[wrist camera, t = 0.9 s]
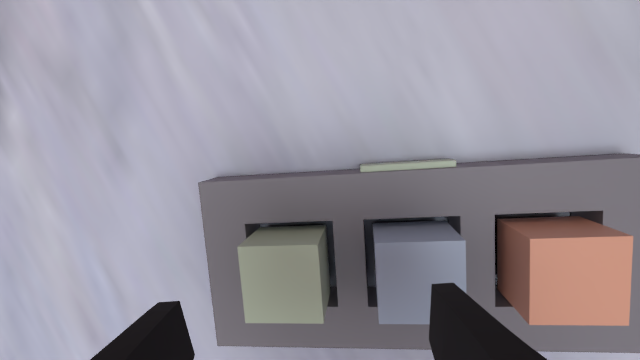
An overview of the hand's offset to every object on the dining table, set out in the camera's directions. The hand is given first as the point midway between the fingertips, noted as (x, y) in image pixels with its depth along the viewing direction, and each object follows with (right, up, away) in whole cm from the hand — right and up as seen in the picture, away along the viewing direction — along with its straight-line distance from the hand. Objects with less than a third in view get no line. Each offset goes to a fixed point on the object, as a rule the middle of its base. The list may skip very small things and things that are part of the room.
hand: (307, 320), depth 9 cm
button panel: (+7, -1, +15) cm, 16 cm away
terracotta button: (+14, -1, +12) cm, 19 cm away
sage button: (-1, -2, +14) cm, 14 cm away
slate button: (+6, -1, +13) cm, 14 cm away
